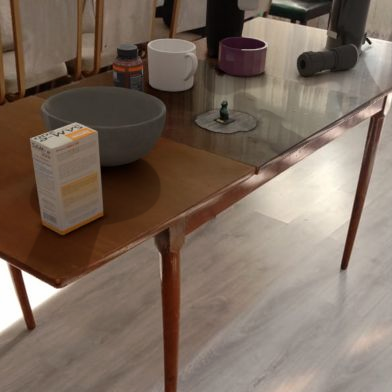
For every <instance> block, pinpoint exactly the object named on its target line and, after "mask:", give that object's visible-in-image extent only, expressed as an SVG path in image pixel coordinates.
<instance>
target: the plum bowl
mask: <svg viewBox="0 0 392 392" xmlns="http://www.w3.org/2000/svg"><path fill="white" fill-rule="evenodd" d="M268 51H269V44H268V42H267V41H265V40H263V39H260V38H257V37H253V36H252V37H251V36H242V37H227V38H224V39H221V41H220V43H219V55H218V59H217V60H218V61H217V67H218V68H219V70H221V71H222V72H223V73H225V74H227V75H230V76H234V77H235V76H236V77H242V78H243V77H245V78H246V77H255V76H258V75H261V74H262V73H264V72H265V71H266V70H267V69H266V68H267V62H268V61H267V59H268Z"/></svg>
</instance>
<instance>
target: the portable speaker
mask: <svg viewBox="0 0 392 392" xmlns="http://www.w3.org/2000/svg"><path fill="white" fill-rule="evenodd" d="M245 14H246V11H245V10H241V9H239V7H238V0H206V8H205V29H204V30H205V41H206V48H207V49H206V50H207V51H206V52H207V53H206V54H207V56H209V57H210V58H214V56H219V43H220V41H221V39H224V38H227V37H243V31H244V26H245V17H246V16H245Z"/></svg>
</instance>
